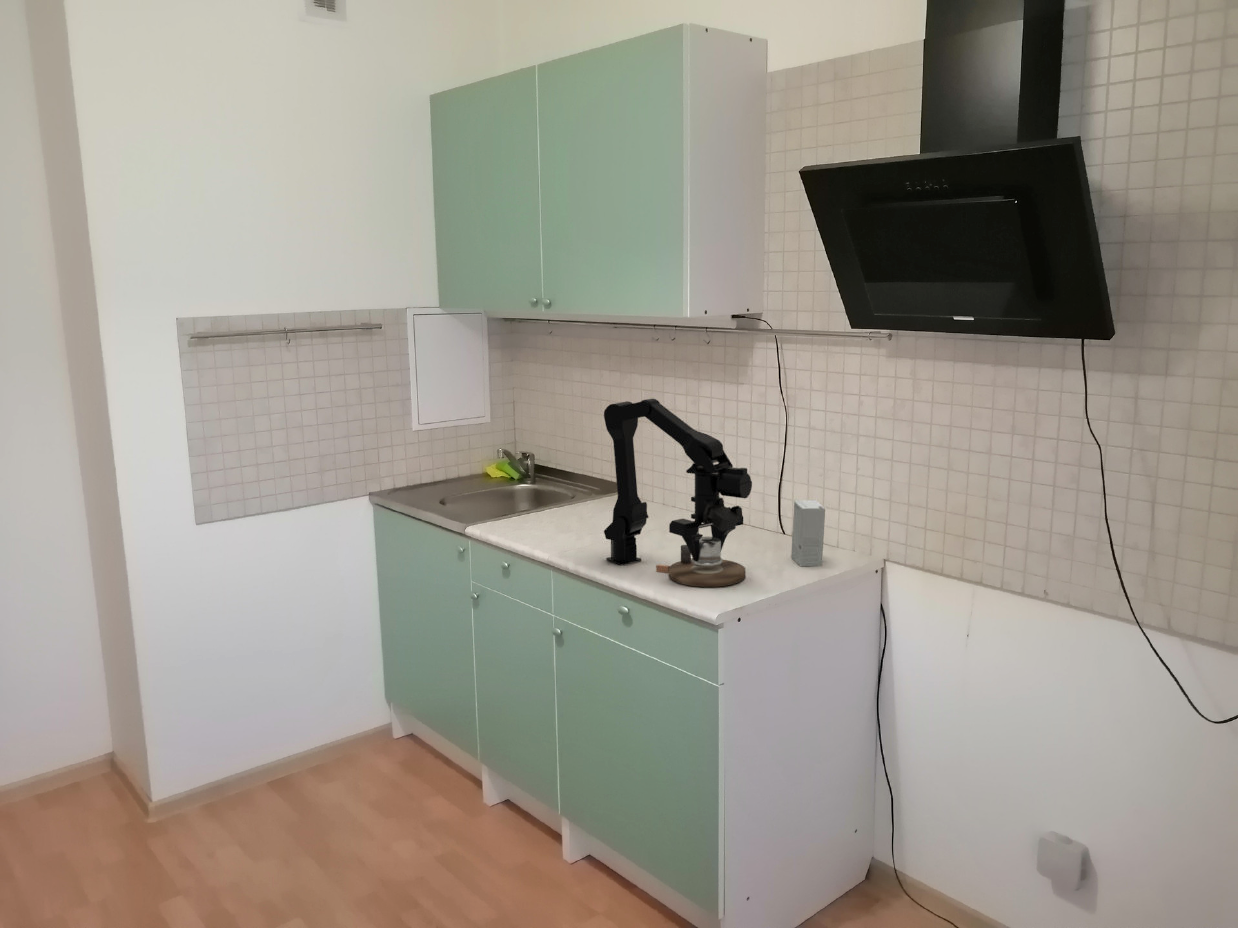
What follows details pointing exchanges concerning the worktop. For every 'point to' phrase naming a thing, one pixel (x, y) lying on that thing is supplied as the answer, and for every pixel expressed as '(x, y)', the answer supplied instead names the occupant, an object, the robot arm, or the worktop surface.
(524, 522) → the worktop surface
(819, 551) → the skincare box
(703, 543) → the cap
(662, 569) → the pointer
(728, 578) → the turntable
